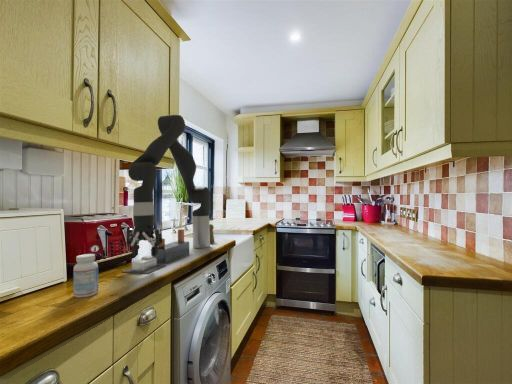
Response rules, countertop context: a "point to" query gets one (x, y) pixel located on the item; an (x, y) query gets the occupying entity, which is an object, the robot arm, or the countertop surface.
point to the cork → (211, 233)
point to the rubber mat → (144, 271)
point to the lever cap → (144, 263)
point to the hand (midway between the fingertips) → (144, 255)
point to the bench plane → (172, 249)
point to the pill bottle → (85, 276)
